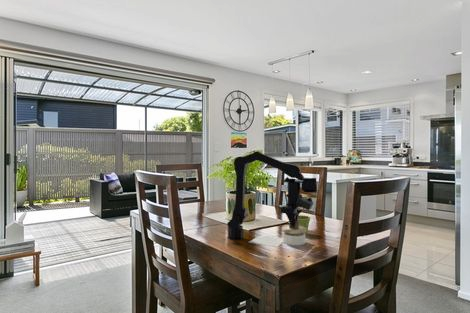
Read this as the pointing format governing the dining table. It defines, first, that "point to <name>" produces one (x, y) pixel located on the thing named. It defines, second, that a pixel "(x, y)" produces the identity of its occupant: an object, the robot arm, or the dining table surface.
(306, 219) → the plant pot
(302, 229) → the lid
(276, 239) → the mat
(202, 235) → the dining table surface
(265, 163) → the robot arm
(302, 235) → the bowl
